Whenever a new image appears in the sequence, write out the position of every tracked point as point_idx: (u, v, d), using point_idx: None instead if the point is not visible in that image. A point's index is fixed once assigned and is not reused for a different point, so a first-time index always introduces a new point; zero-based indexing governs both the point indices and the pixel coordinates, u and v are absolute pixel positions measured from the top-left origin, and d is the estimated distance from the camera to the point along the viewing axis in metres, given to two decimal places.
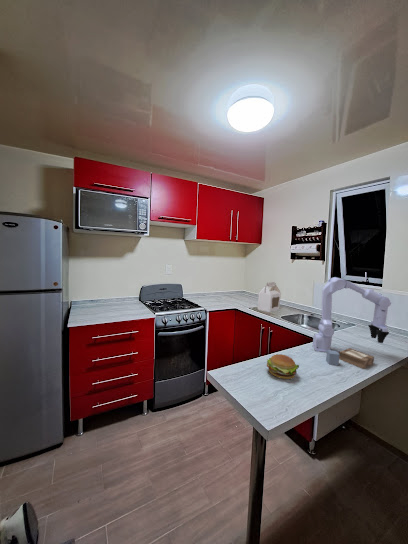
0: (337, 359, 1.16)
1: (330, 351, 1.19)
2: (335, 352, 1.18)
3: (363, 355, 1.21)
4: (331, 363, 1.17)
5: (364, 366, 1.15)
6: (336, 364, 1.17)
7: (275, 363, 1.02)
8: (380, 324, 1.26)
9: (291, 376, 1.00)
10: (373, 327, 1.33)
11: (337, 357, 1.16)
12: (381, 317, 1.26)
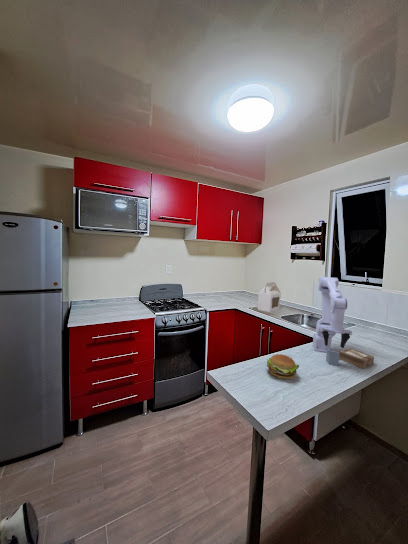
0: (337, 359, 1.16)
1: (330, 351, 1.19)
2: (335, 352, 1.19)
3: (363, 355, 1.21)
4: (331, 363, 1.17)
5: (364, 366, 1.15)
6: (336, 364, 1.17)
7: (275, 363, 1.02)
8: (329, 326, 1.19)
9: (291, 376, 1.00)
10: (342, 335, 1.18)
11: (337, 357, 1.16)
12: (330, 319, 1.18)
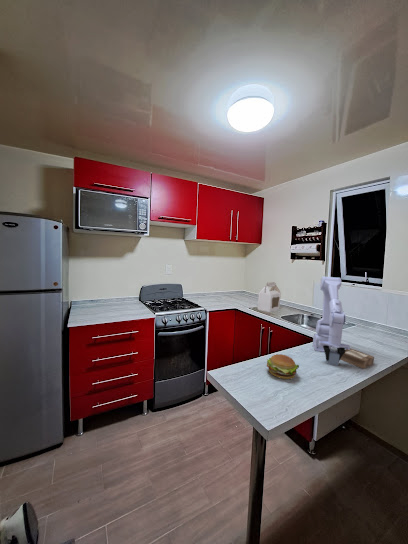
0: (337, 359, 1.16)
1: (330, 351, 1.19)
2: (335, 352, 1.18)
3: (363, 355, 1.21)
4: (331, 363, 1.17)
5: (364, 366, 1.15)
6: (336, 364, 1.17)
7: (275, 363, 1.02)
8: (328, 340, 1.19)
9: (291, 376, 1.00)
10: (338, 349, 1.19)
11: (337, 357, 1.16)
12: (329, 333, 1.19)
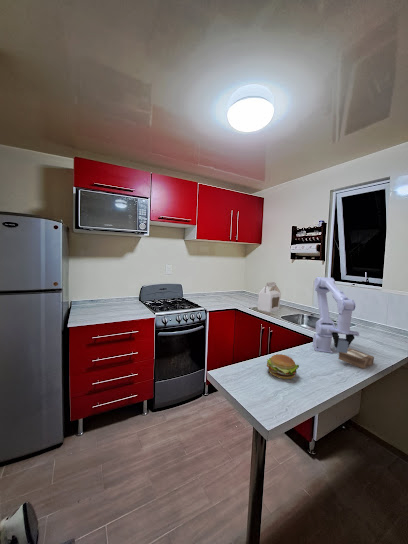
0: (346, 346, 1.17)
1: (339, 338, 1.20)
2: (344, 339, 1.19)
3: (363, 355, 1.21)
4: (340, 350, 1.18)
5: (364, 366, 1.15)
6: (345, 351, 1.17)
7: (275, 363, 1.02)
8: (337, 327, 1.20)
9: (291, 376, 1.00)
10: (347, 336, 1.19)
11: (346, 344, 1.17)
12: (338, 320, 1.19)
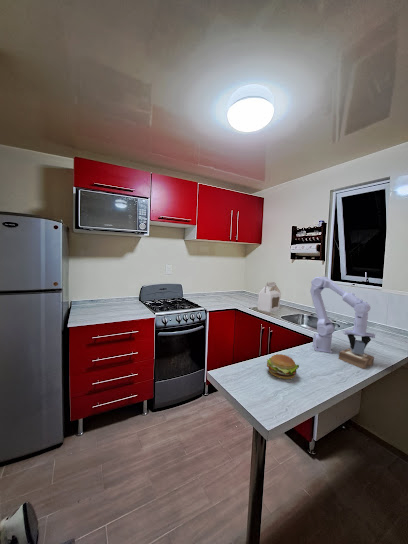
0: (362, 348, 1.20)
1: (355, 340, 1.23)
2: (360, 341, 1.22)
3: (363, 355, 1.21)
4: (356, 352, 1.20)
5: (364, 366, 1.15)
6: (361, 353, 1.20)
7: (275, 363, 1.02)
8: (353, 329, 1.23)
9: (291, 376, 1.00)
10: (363, 337, 1.22)
11: (362, 346, 1.19)
12: (357, 324, 1.20)
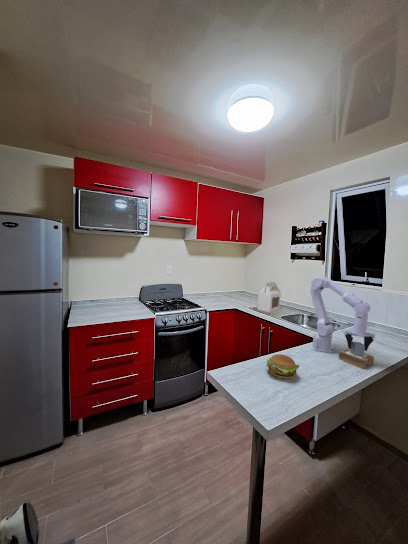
0: (362, 350, 1.20)
1: (355, 342, 1.23)
2: (360, 343, 1.22)
3: None
4: (357, 354, 1.20)
5: (364, 366, 1.15)
6: (361, 355, 1.20)
7: (275, 363, 1.02)
8: (353, 330, 1.23)
9: (291, 376, 1.00)
10: (365, 338, 1.22)
11: (362, 348, 1.20)
12: (357, 324, 1.20)
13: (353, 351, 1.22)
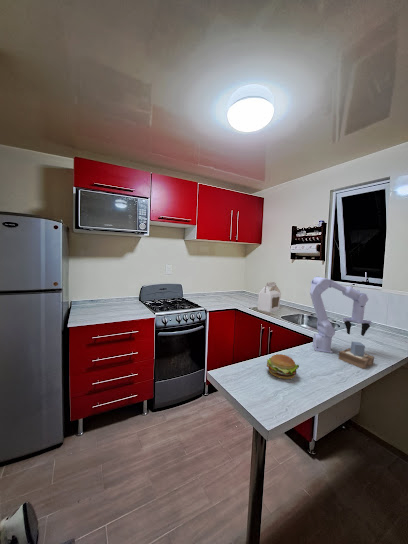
0: (362, 350, 1.20)
1: (355, 342, 1.23)
2: (360, 343, 1.22)
3: None
4: (357, 354, 1.20)
5: (364, 366, 1.15)
6: (361, 355, 1.20)
7: (275, 363, 1.02)
8: None
9: (291, 376, 1.00)
10: (362, 324, 1.35)
11: (362, 348, 1.20)
12: (360, 312, 1.32)
13: (353, 351, 1.22)
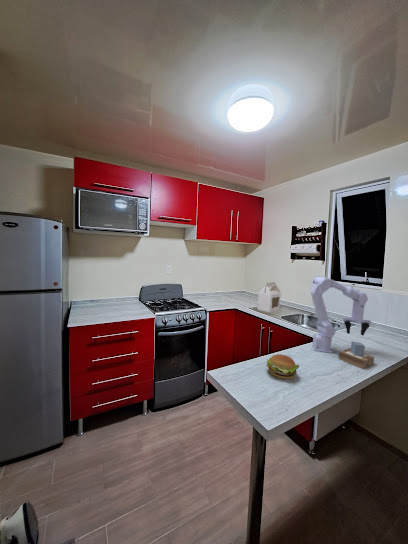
0: (362, 350, 1.20)
1: (355, 342, 1.23)
2: (360, 343, 1.22)
3: None
4: (357, 354, 1.20)
5: (364, 366, 1.15)
6: (361, 355, 1.20)
7: (275, 363, 1.02)
8: (351, 317, 1.37)
9: (291, 376, 1.00)
10: (362, 324, 1.36)
11: (362, 348, 1.20)
12: (360, 312, 1.33)
13: (353, 351, 1.22)
